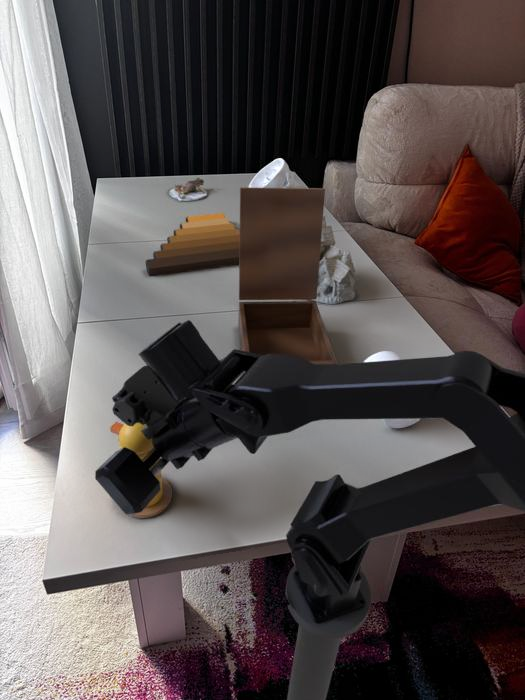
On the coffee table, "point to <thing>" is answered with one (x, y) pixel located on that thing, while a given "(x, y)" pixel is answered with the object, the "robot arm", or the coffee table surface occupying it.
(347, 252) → the ceramic cottage
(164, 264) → the pan flute
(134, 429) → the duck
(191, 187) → the frog figurine
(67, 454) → the coffee table surface
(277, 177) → the skull bowl
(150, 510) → the coaster
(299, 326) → the chest
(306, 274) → the chest lid
